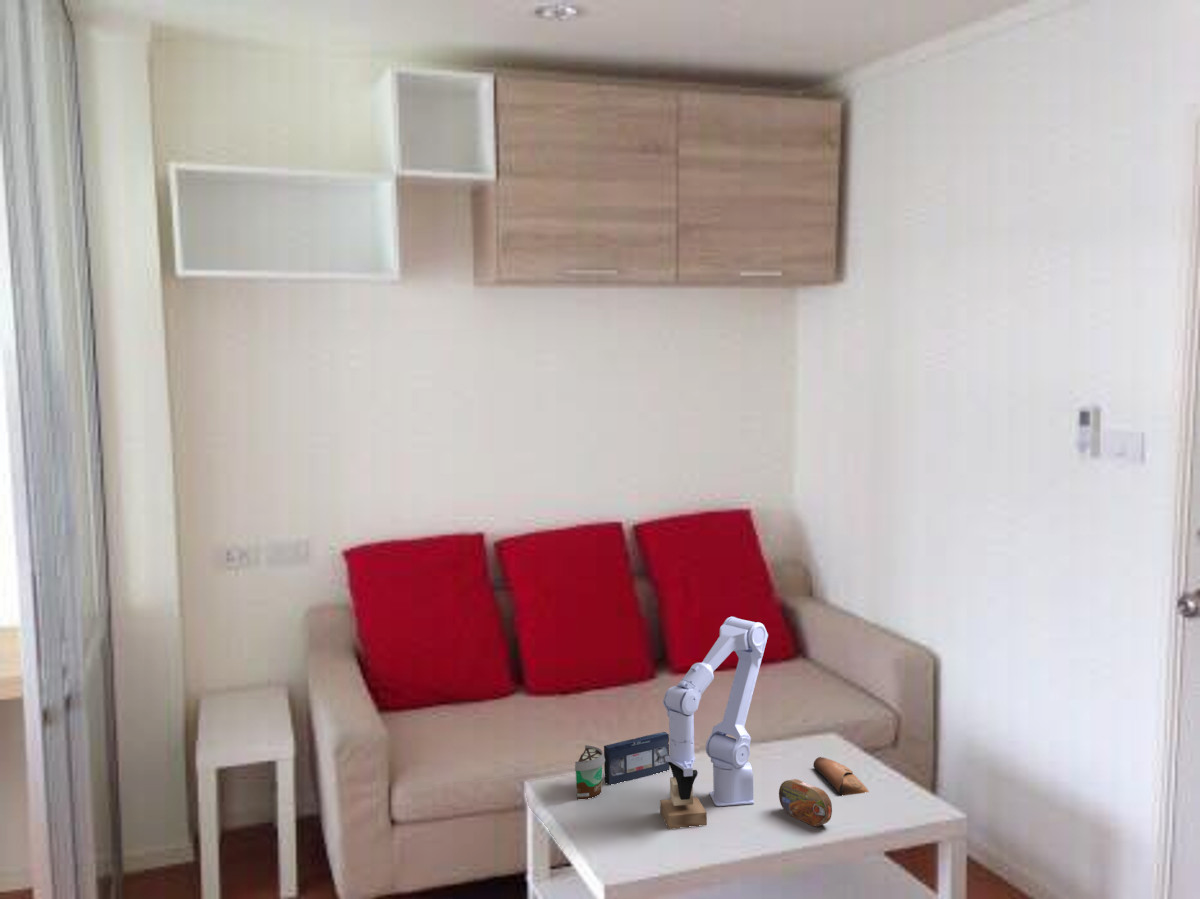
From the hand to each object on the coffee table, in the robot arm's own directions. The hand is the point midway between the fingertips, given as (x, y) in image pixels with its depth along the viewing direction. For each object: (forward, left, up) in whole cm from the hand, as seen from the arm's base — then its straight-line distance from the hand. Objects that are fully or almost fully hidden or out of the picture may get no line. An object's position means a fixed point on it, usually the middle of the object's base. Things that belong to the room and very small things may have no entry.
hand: (682, 794), depth 259 cm
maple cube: (0, 0, -2) cm, 2 cm away
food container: (+19, -19, -6) cm, 28 cm away
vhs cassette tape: (+7, -27, -6) cm, 29 cm away
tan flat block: (0, 0, -6) cm, 6 cm away
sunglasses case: (-44, -15, -7) cm, 47 cm away
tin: (-28, +5, -6) cm, 29 cm away
